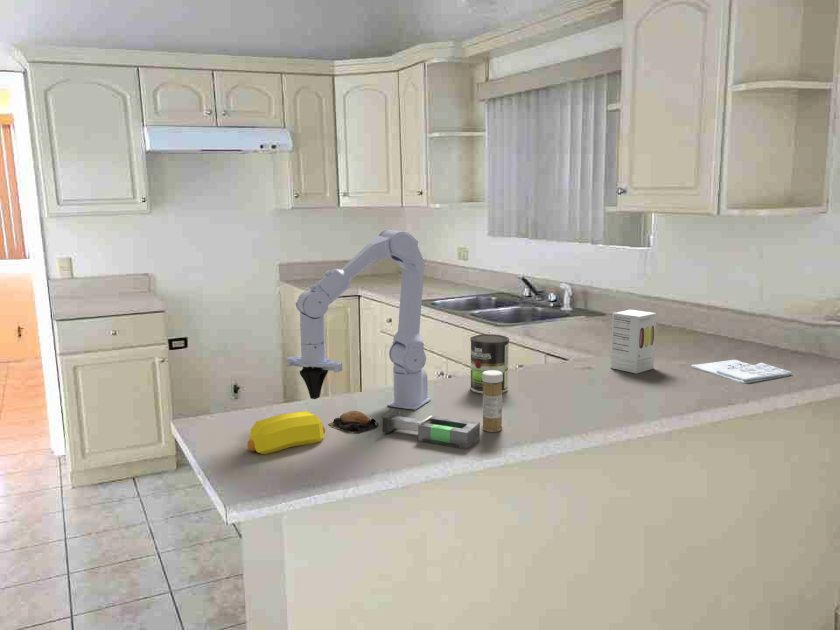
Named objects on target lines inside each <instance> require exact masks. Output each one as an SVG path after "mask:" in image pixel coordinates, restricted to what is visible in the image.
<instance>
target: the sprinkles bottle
mask: <svg viewBox="0 0 840 630" xmlns="http://www.w3.org/2000/svg"><path fill="white" fill-rule="evenodd" d="M482 380H483V394H482V426H481V427H482V430H483V431H485V432H488V433H489V432H490V433H496V432H497V433H498V432H500V431H502V429H503V425H502V424H503V423H502V422H503V421H502V417H503V393H502V381H503V373H502V372H500V371H496V370H488V371H484V372H483V373H482Z"/></svg>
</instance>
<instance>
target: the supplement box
mask: <svg viewBox="0 0 840 630" xmlns="http://www.w3.org/2000/svg"><path fill="white" fill-rule="evenodd" d="M611 317H612V318H611V341H610V344H611V347H610V368H609V369H615V370H618V371H622V372H628V373H632V374H635V375H636V374H640V373H644V372H646V371H649V370H652V369H654V363H655V346H656V345H655V344H656V343H655V341H656V328H657V325H656V323H657V313H656V312H653V311H652V312H651V311H643V310H639V309H638V310H636V309H627V310H621V311H617V312H613V313H612V316H611Z"/></svg>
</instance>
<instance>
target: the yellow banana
mask: <svg viewBox="0 0 840 630" xmlns="http://www.w3.org/2000/svg"><path fill="white" fill-rule="evenodd" d="M325 433H326V428H325V426H324V424H323V423H322V420H321V419H320V417H318V416H317V415H316V414H313V413H311V411H310V410H304V411H297V412H288V413H287V412H286V413H282V414H278V415H274V416H271V417H267V418H264V419H260V420H257V421H255V423H254V424H253V425H252V427H251V428H250V433H249V440H247V445H246V446H247V449H248V451H250V452H256V453H259V454H260V455H267V454H271V453H275V452H278V451H283V450H285V449H288V448H292V447H298V446H305V445H310V444H315V443H319V442H320V441H322V440H324V438H325Z"/></svg>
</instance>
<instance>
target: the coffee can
mask: <svg viewBox="0 0 840 630" xmlns="http://www.w3.org/2000/svg"><path fill="white" fill-rule="evenodd" d="M509 342H510V338H509V337H508V336H506V335H501V334H492V333H491V334H486V333H485V334H484V333H483V334H477V335H476V334H475V335H473V336H470V390H471V391H472V392H473V393H476V394H477V393H478V394H482V395H483V380H482V373H483V372H484V371H488V370H496V371H500V372H502V373H503V381H502V394H504V393H506V392H508V390H509Z"/></svg>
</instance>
